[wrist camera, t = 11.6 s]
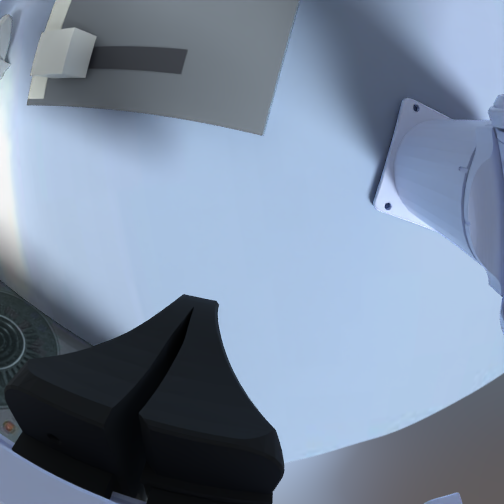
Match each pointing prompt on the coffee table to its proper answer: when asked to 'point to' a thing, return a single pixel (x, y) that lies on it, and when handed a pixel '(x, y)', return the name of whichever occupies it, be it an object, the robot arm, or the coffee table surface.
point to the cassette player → (26, 346)
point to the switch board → (176, 58)
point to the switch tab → (63, 54)
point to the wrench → (4, 41)
